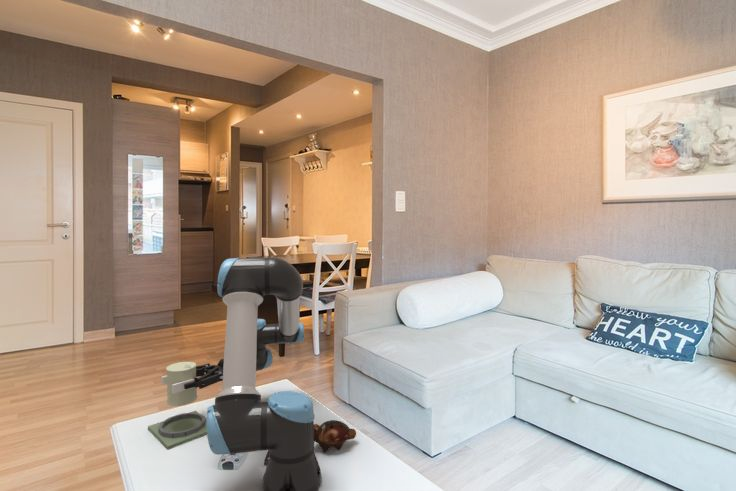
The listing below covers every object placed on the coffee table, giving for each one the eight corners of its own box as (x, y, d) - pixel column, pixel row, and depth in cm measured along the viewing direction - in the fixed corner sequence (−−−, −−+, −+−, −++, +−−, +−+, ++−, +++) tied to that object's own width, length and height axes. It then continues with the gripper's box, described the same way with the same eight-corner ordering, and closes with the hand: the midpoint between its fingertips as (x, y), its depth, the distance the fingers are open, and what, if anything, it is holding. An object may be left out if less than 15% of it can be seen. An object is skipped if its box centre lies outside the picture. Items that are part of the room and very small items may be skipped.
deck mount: (218, 430, 134) (217, 423, 134) (167, 449, 123) (167, 441, 122) (195, 413, 147) (195, 406, 146) (147, 429, 135) (147, 421, 135)
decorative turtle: (303, 445, 125) (304, 419, 125) (348, 437, 131) (349, 412, 131) (312, 459, 116) (313, 431, 116) (360, 450, 122) (361, 424, 123)
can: (185, 407, 129) (184, 370, 128) (160, 404, 131) (159, 368, 130) (203, 395, 138) (202, 361, 137) (179, 393, 140) (178, 359, 139)
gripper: (247, 385, 139) (180, 406, 123) (218, 369, 154) (155, 386, 138) (246, 364, 139) (179, 382, 123) (218, 350, 154) (155, 365, 138)
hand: (167, 384), depth 131 cm, fingers closed on can, 9 cm apart
